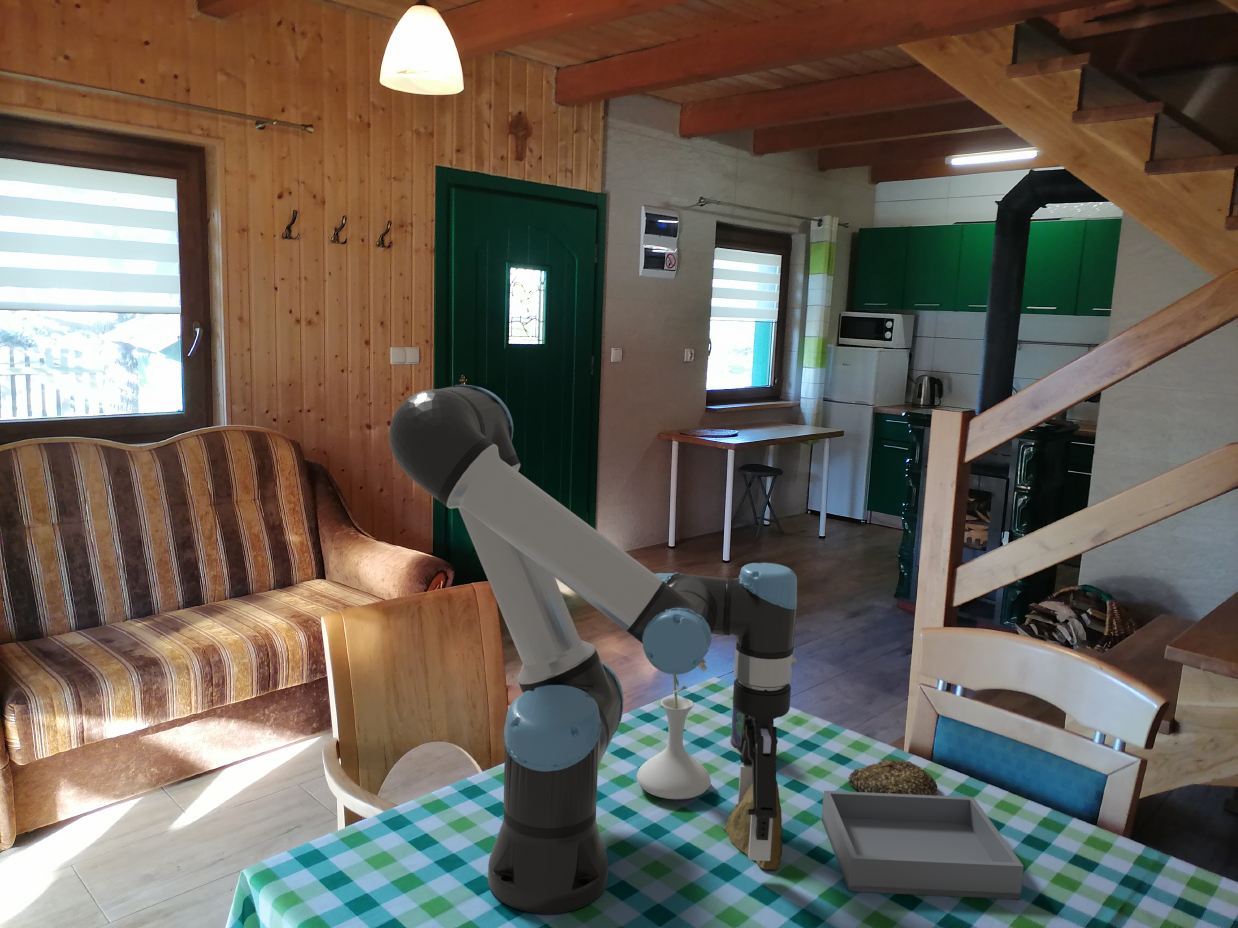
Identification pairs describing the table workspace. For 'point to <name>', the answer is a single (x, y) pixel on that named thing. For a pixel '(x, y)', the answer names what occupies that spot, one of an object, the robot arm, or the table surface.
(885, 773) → the bread roll
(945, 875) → the bin
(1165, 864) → the table surface
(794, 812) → the table surface
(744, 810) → the rock
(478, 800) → the table surface
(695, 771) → the flower in vase
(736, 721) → the flask
